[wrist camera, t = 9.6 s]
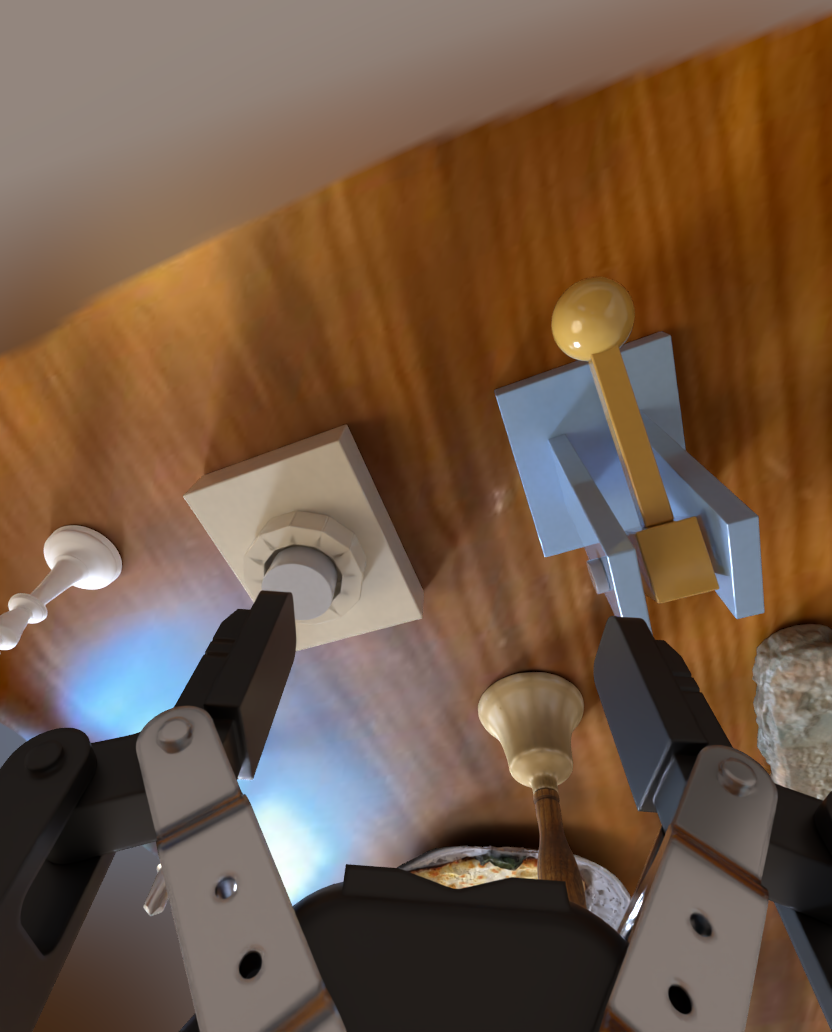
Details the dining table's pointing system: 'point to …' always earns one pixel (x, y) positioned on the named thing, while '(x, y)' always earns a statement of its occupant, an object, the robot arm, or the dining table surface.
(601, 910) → the food plate
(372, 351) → the dining table surface
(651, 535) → the flush lever
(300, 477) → the dial knob panel
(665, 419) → the lever bracket
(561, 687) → the hand bell
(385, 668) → the dining table surface
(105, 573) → the chess piece
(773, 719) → the long grey stone
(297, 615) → the grey push button
